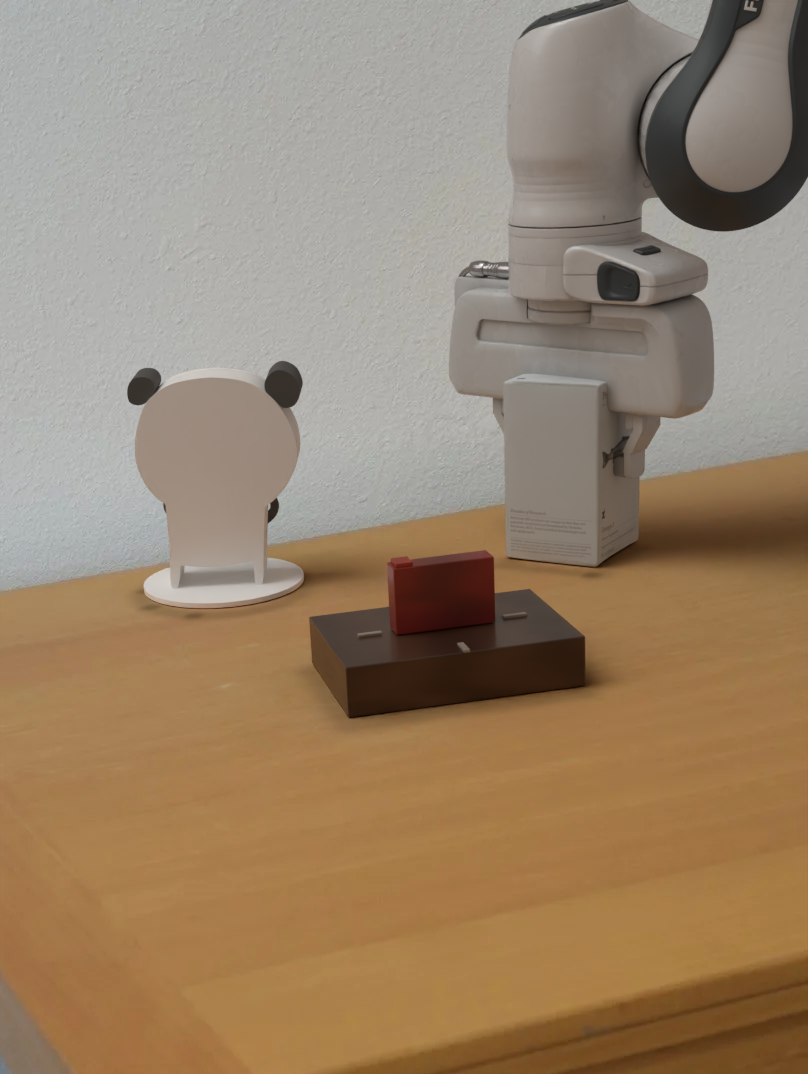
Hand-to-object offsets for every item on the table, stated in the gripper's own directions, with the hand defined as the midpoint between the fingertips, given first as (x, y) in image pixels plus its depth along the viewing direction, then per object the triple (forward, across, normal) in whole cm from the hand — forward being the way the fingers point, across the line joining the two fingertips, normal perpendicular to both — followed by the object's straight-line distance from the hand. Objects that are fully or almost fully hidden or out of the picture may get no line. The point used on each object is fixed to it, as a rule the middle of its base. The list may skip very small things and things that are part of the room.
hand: (574, 468), depth 128 cm
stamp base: (+6, +9, -26) cm, 28 cm away
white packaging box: (+6, 0, 0) cm, 6 cm away
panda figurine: (+6, -16, -20) cm, 26 cm away
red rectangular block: (+3, +9, -26) cm, 27 cm away
